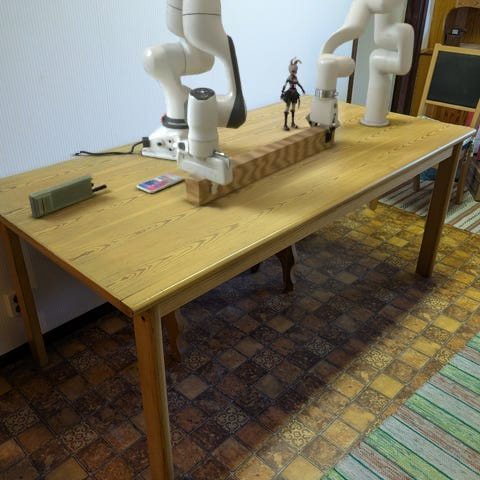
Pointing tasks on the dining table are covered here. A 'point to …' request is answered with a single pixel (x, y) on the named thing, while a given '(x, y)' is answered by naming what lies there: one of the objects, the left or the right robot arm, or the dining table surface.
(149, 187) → the smartphone
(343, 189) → the dining table surface
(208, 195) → the block
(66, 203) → the handheld radio
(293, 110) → the figurine
